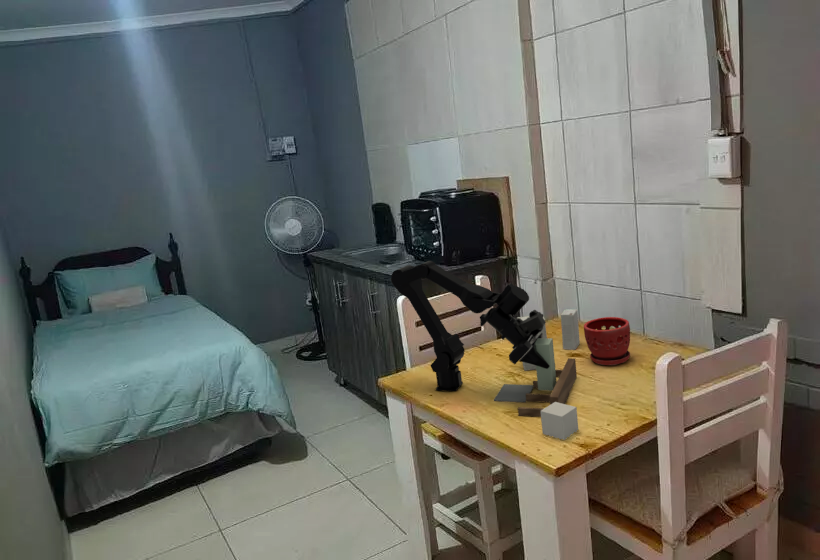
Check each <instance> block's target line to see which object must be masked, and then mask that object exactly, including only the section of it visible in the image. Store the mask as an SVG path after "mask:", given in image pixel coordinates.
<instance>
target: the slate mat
mask: <svg viewBox="0 0 820 560" xmlns="http://www.w3.org/2000/svg"><path fill="white" fill-rule="evenodd" d="M533 389H534V388H533V384H516V383H515V384H513V383H512V384H511V383H510V384H509V383H508V384H507V383H504V384H503V385H502V386H501V388H500V390H499V391H498V392H497V394H496V395H495V397H494V398H493V401H494V402H505V403H506V402H507V403H526V402H527V401H526V393H531V394H532V391H533Z"/></svg>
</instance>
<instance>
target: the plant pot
mask: <svg viewBox="0 0 820 560" xmlns="http://www.w3.org/2000/svg"><path fill="white" fill-rule="evenodd" d="M603 327H605V329H602V328H603ZM611 327H614V328H611ZM610 328H611V329H610ZM583 333H584V337H585V341H586V345H587V346H586V347H587V348H588V350H589V352H590V354H589V357H590V359H591V361H592V362H594V363H596V364H598V365H602V366H616V365H621V364H622V363H626V362H627V361H628V360H629V358H630V357H631V352H630V351H629V347H630V344H631V326H630V322H629V320H628V319H626V318H624V317H616V316H606V317H598V318H593V319H591V320H588V321H586V322H585V323H584V324H583Z"/></svg>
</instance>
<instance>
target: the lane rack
mask: <svg viewBox="0 0 820 560" xmlns="http://www.w3.org/2000/svg"><path fill="white" fill-rule="evenodd" d="M555 370H556V378H558V379H557V380H556V381H557V383H556V385H555V387H554V389H553V391H551V393H532V392H531V393H526V402H533V403H534V402H535V403H549V405H551V404H552V403H554V402H558V403H562V404H566V405H567V401H568V399H569V397H570V394H571V391H572V389H573V387H574V385H573V384H575V381H576V380H577V377H578V375H577V374H578V373H577V362H576V358H571V357H570V358H567V359H566V362H565V364H564V366H563V369H555ZM532 385H533V389H537V390H538V382H537V380H533V381H532ZM543 409H544V407H525V406H524V407H523V406H522V407H521V406H520V407H519V406H518V408H517V414H518V416H521V417H536V418H537V417H540V418H541V410H543Z"/></svg>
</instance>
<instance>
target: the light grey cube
mask: <svg viewBox="0 0 820 560" xmlns="http://www.w3.org/2000/svg"><path fill="white" fill-rule="evenodd" d="M543 408H544V407H543ZM540 418H541V419H540V421H541V428H542V429H541V430H542V435H545V436H548V435H549V436H548V437H552V436H553V438H556V439H558V438H559V439H558V440H562V439H563V440H562V441H565V440H566V439H568V438H570V437H571V436H572V435H574V434H575V433H577V432H578V431H579V421H578V420H579V419H578V411H577V406H574V405H570V404H567V403H566V404H562V403H558V402H554V403H552V404H551V405H550V404H549V405H548V406H546V407H545V408H544V409H543V410H541V417H540ZM577 430H578V431H577ZM574 432H575V433H574ZM573 433H574V434H573ZM571 434H572V435H571ZM570 435H571V436H570ZM567 437H568V438H567Z"/></svg>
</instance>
